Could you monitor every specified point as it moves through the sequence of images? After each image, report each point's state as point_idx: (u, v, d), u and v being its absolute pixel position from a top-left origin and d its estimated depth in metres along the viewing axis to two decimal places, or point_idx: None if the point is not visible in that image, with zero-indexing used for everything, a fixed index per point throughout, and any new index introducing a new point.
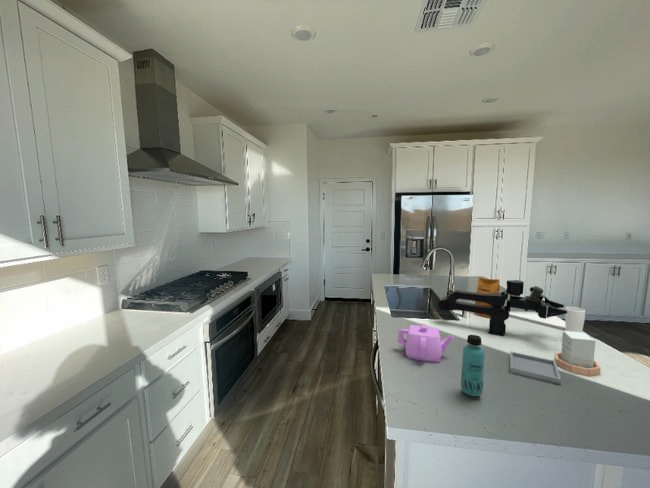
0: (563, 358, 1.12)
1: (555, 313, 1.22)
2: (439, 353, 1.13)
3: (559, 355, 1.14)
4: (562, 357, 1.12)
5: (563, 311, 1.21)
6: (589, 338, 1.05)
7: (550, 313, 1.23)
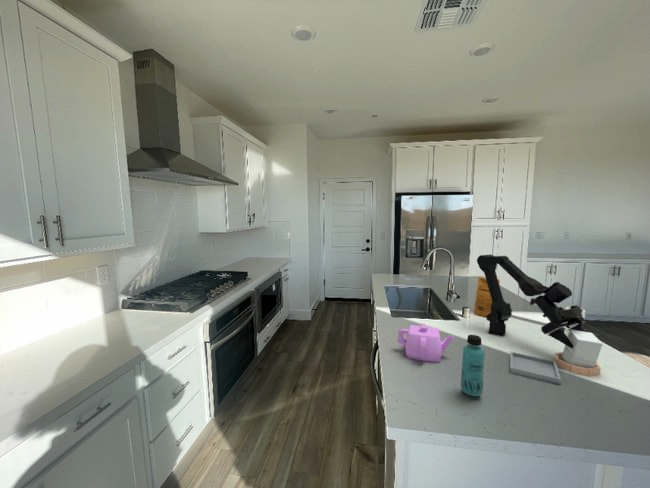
0: (564, 355, 1.11)
1: (560, 339, 1.09)
2: (439, 353, 1.13)
3: (559, 355, 1.14)
4: (564, 354, 1.12)
5: (569, 344, 1.07)
6: (596, 341, 1.02)
7: (555, 335, 1.10)
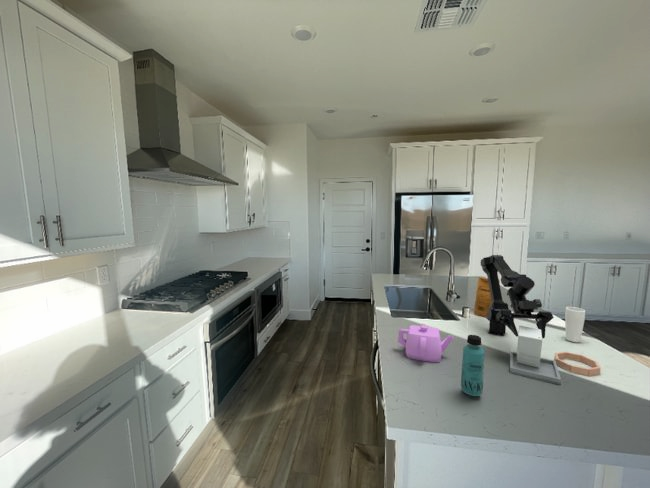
0: None
1: (510, 327, 1.14)
2: (439, 353, 1.13)
3: (559, 355, 1.14)
4: None
5: (515, 332, 1.11)
6: (537, 337, 1.05)
7: (507, 323, 1.15)
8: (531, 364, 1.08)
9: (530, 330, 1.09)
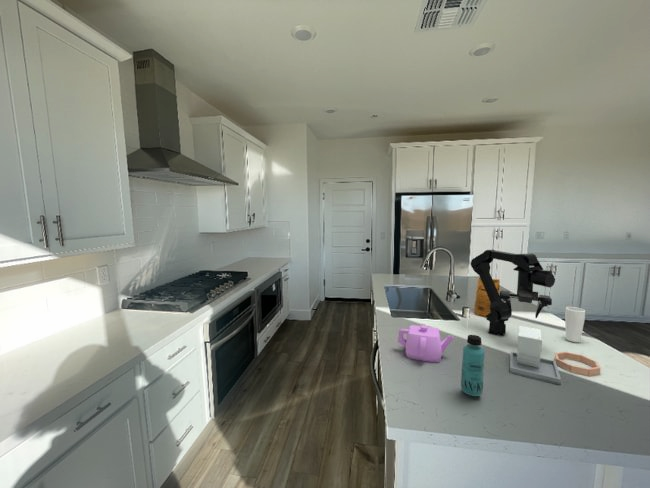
0: None
1: None
2: (439, 353, 1.13)
3: (559, 355, 1.14)
4: None
5: (509, 311, 1.30)
6: (537, 338, 1.05)
7: None
8: (531, 364, 1.08)
9: (530, 330, 1.09)
